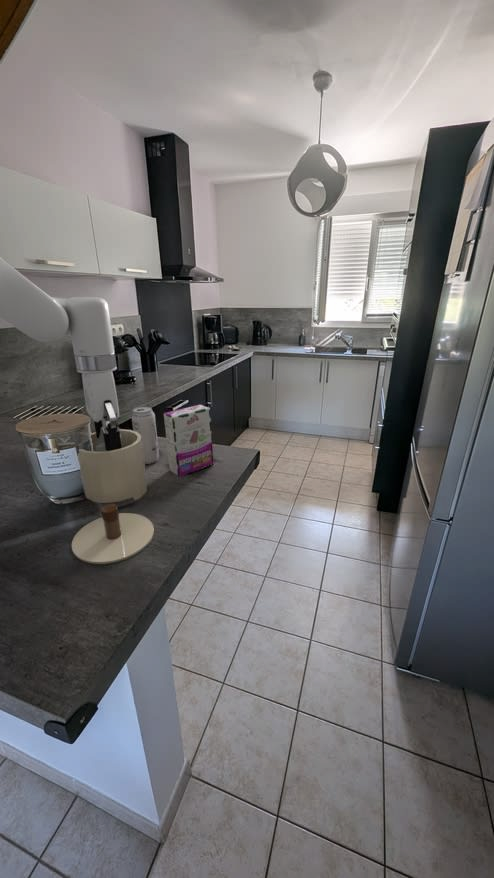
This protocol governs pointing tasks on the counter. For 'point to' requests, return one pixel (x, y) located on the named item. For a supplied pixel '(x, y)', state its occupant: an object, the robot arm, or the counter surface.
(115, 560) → the lid
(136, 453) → the canister
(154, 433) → the energy drink can
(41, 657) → the counter surface
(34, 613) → the counter surface
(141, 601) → the counter surface
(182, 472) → the candy bar box
